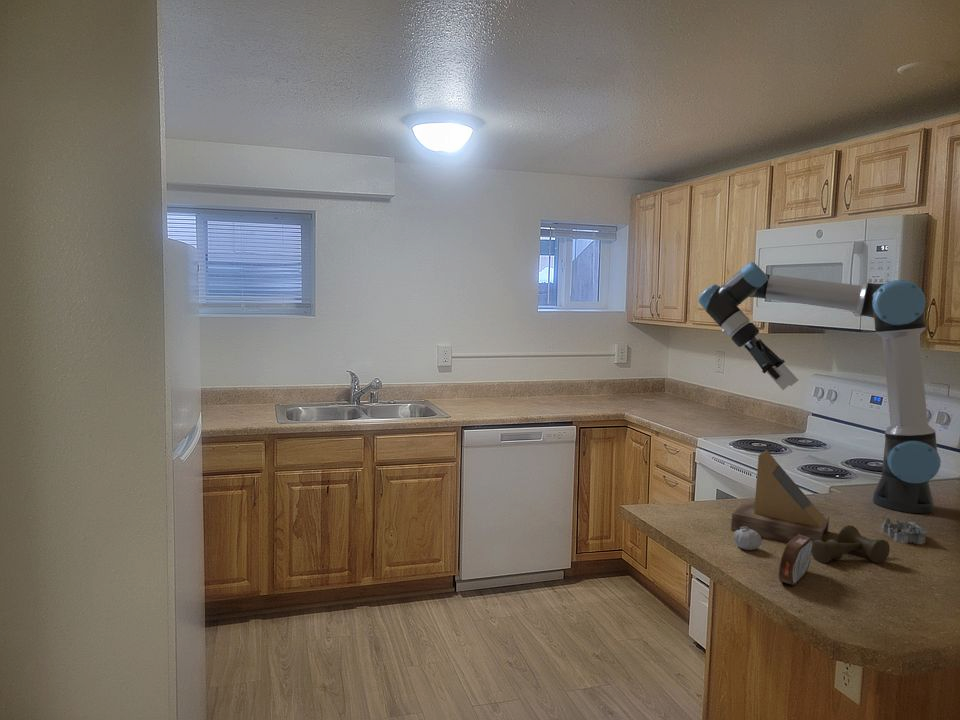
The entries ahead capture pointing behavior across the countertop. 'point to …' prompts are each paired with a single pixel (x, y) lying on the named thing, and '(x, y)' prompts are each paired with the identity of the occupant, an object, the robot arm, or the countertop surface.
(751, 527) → the walnut shelf
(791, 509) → the sandwich container
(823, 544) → the kendama
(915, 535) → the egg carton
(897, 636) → the countertop surface
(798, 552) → the tin
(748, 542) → the garlic
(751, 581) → the countertop surface
